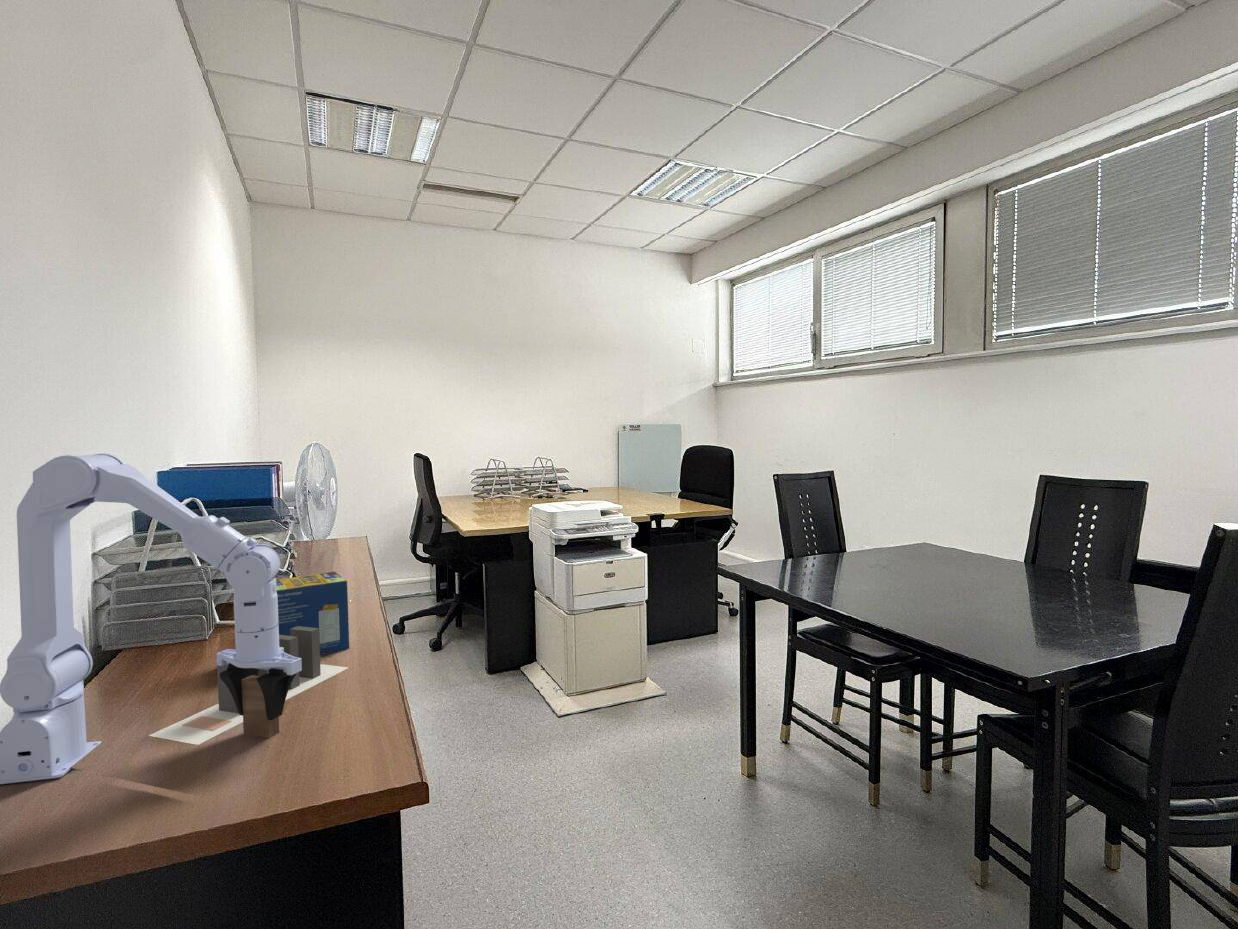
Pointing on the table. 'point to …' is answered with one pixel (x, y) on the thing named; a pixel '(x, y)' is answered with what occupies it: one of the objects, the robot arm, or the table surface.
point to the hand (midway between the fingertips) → (260, 715)
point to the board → (228, 715)
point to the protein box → (315, 608)
